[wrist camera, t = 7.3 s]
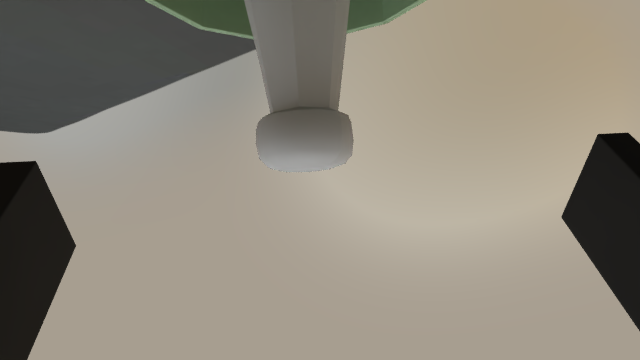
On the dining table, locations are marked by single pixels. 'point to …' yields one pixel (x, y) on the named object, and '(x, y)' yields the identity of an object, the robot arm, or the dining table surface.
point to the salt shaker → (301, 83)
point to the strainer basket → (231, 18)
